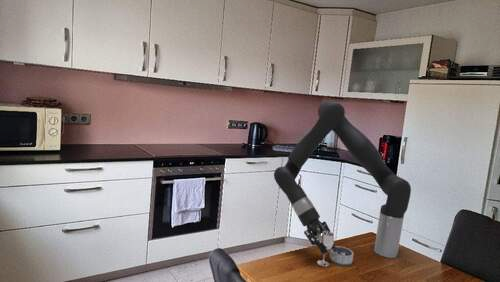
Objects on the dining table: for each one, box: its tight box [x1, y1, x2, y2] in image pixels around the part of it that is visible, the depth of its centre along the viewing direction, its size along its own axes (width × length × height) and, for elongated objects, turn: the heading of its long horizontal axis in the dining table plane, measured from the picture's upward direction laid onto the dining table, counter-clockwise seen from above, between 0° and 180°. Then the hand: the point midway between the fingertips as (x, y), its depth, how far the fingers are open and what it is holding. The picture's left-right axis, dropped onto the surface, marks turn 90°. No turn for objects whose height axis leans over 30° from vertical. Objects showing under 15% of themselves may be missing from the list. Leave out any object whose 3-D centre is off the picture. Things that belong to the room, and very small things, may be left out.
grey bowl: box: [329, 245, 355, 267], centre depth 132 cm, size 9×9×4 cm
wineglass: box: [316, 231, 335, 267], centre depth 128 cm, size 6×6×12 cm
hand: (329, 250), depth 127 cm, fingers closed on wineglass, 5 cm apart
